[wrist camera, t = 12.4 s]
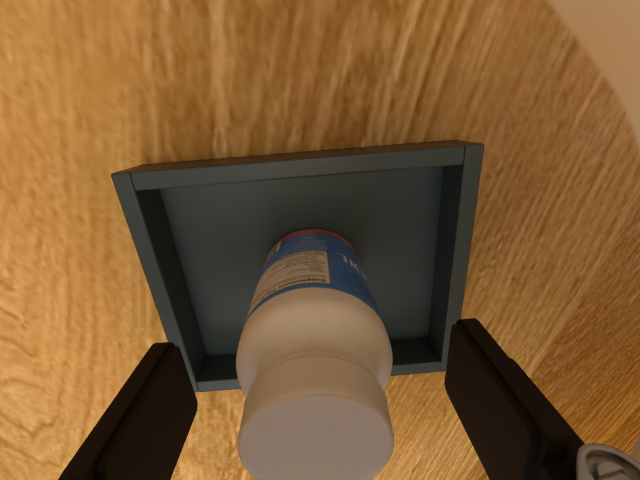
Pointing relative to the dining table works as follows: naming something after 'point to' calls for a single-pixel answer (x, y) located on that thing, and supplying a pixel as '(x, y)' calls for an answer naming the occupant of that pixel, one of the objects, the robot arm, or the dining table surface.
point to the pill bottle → (314, 366)
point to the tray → (300, 214)
